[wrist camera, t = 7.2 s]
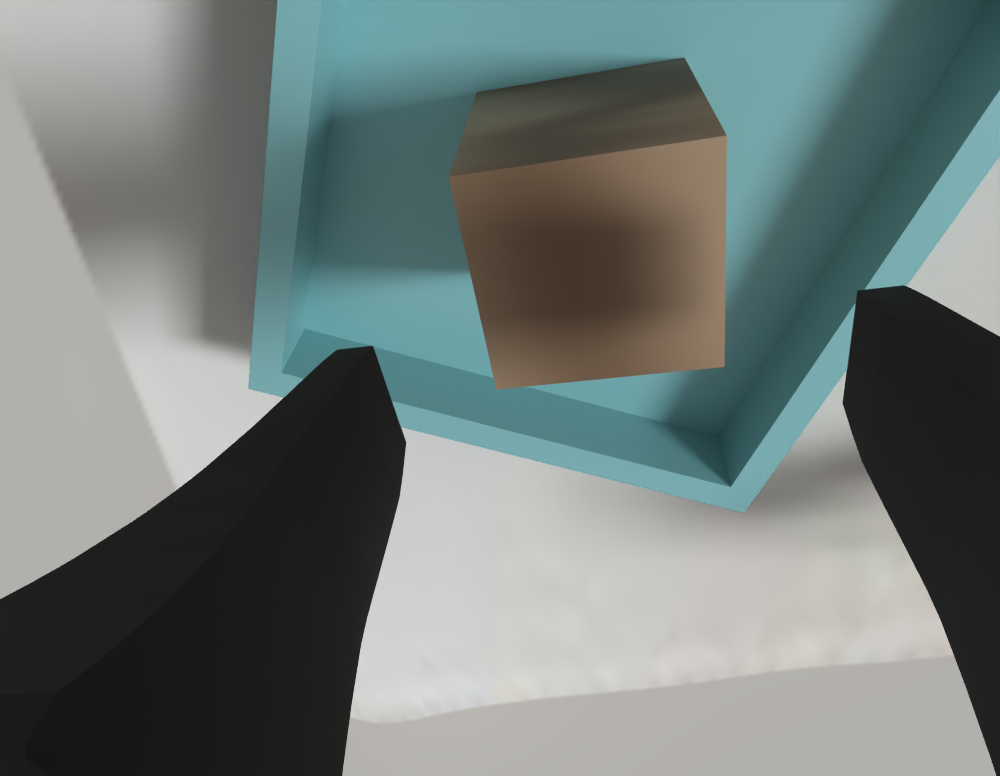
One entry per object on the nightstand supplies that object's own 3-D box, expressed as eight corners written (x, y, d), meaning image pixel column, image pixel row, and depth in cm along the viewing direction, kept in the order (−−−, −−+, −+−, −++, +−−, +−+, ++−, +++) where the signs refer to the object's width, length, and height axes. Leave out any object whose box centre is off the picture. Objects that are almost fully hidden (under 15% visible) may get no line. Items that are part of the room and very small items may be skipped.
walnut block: (684, 57, 15) (726, 135, 11) (688, 249, 18) (724, 366, 14) (476, 92, 16) (448, 176, 12) (510, 271, 19) (496, 389, 15)
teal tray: (1055, -54, 14) (1136, -36, 12) (727, 452, 22) (744, 513, 20) (343, -311, 13) (302, -339, 11) (277, 336, 21) (248, 388, 19)
